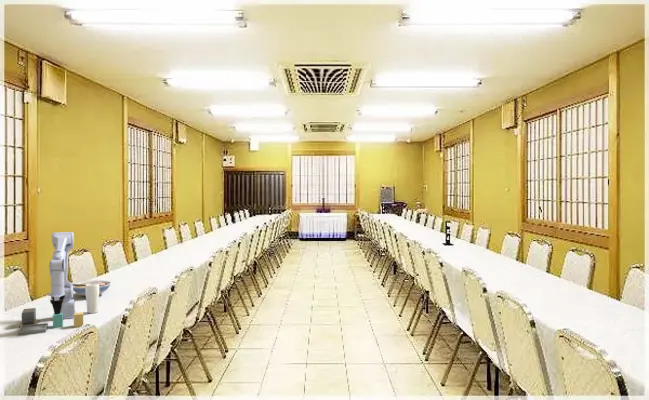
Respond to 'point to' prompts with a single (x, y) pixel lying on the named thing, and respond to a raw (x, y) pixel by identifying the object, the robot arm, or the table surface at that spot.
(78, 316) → the ochre block
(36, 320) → the silver unit
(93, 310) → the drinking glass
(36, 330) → the slate tray
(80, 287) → the ramen bowl
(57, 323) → the teal block
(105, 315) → the table surface
